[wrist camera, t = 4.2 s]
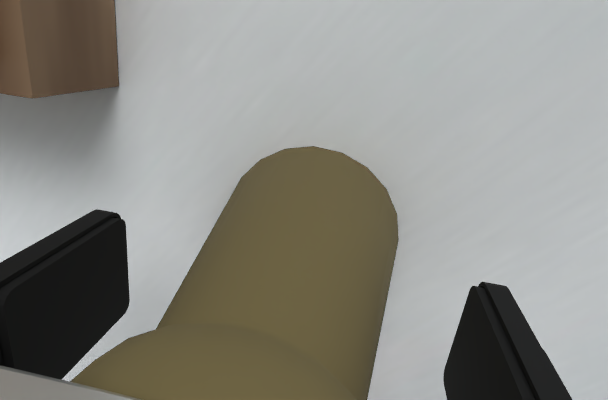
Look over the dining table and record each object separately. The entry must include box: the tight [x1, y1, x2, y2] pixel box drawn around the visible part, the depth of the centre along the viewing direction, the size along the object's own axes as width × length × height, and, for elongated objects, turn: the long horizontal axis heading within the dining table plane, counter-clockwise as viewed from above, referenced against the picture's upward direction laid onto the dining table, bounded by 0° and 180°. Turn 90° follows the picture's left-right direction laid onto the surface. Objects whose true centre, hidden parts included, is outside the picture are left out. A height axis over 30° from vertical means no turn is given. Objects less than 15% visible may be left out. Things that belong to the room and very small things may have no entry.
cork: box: [70, 146, 398, 400], centre depth 9 cm, size 6×6×11 cm
